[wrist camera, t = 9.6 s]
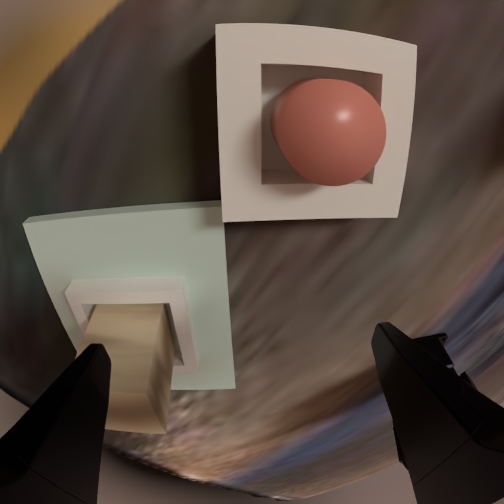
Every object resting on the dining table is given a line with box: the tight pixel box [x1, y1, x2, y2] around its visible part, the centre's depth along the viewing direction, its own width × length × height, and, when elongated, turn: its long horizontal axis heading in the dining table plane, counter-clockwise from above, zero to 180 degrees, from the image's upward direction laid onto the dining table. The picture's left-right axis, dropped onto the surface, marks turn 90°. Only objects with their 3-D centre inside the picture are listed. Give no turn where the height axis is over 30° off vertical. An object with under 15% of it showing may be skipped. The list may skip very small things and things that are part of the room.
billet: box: [75, 303, 176, 434], centre depth 19 cm, size 5×5×8 cm
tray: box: [23, 200, 236, 390], centre depth 22 cm, size 18×14×2 cm
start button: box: [270, 78, 386, 186], centre depth 14 cm, size 5×5×3 cm
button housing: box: [216, 23, 417, 222], centre depth 15 cm, size 10×10×3 cm
